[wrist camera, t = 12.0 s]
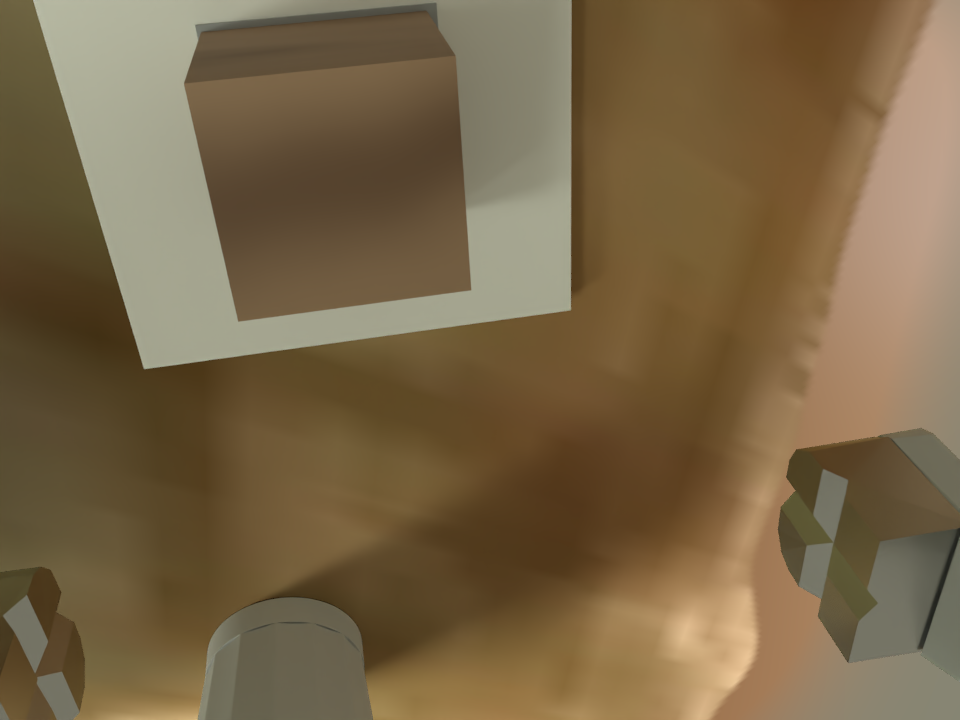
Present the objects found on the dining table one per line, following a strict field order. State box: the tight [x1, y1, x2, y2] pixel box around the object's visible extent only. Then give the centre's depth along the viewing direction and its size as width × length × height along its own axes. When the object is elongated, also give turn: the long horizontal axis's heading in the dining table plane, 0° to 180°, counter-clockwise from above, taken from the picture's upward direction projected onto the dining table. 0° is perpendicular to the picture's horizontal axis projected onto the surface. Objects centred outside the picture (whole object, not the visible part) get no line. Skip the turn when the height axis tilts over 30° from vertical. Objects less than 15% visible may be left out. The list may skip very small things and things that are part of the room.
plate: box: [33, 0, 572, 369], centre depth 26 cm, size 14×14×1 cm
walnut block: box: [184, 11, 471, 322], centre depth 24 cm, size 6×6×5 cm
